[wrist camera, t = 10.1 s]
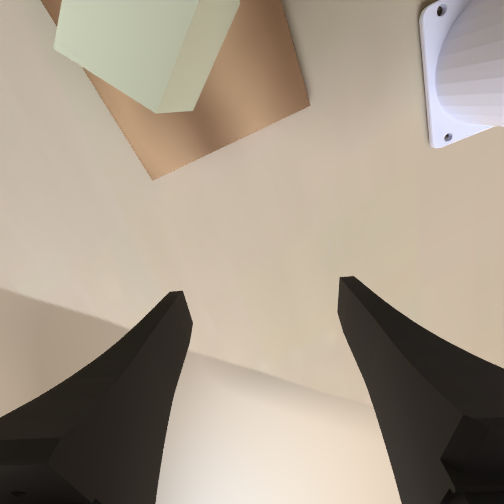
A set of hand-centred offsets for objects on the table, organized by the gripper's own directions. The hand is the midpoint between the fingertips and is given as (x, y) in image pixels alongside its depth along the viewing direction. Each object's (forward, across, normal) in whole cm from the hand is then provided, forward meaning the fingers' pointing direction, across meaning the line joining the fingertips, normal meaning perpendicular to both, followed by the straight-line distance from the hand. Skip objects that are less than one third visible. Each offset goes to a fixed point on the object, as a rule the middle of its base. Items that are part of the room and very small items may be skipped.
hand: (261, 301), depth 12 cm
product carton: (+10, +3, -12) cm, 15 cm away
